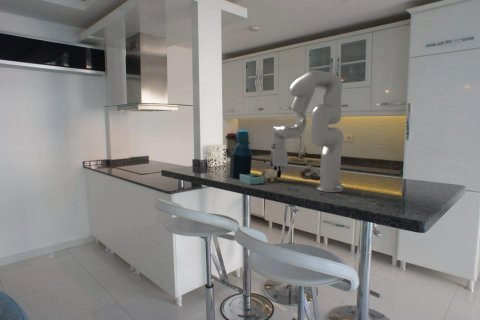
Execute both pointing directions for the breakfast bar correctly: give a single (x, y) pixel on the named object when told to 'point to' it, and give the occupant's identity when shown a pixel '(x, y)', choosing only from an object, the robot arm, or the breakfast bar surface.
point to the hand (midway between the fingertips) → (278, 177)
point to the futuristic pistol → (314, 173)
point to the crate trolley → (269, 175)
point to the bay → (251, 179)
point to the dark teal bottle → (241, 156)
